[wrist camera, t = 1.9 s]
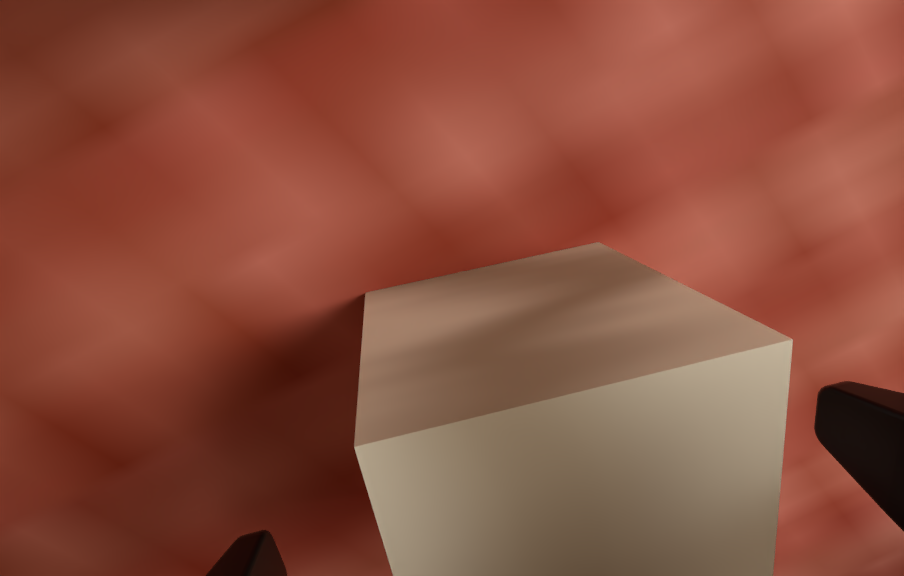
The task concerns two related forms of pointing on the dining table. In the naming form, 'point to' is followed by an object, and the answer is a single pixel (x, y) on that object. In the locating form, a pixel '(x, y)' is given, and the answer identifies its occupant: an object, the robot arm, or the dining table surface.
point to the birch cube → (570, 423)
